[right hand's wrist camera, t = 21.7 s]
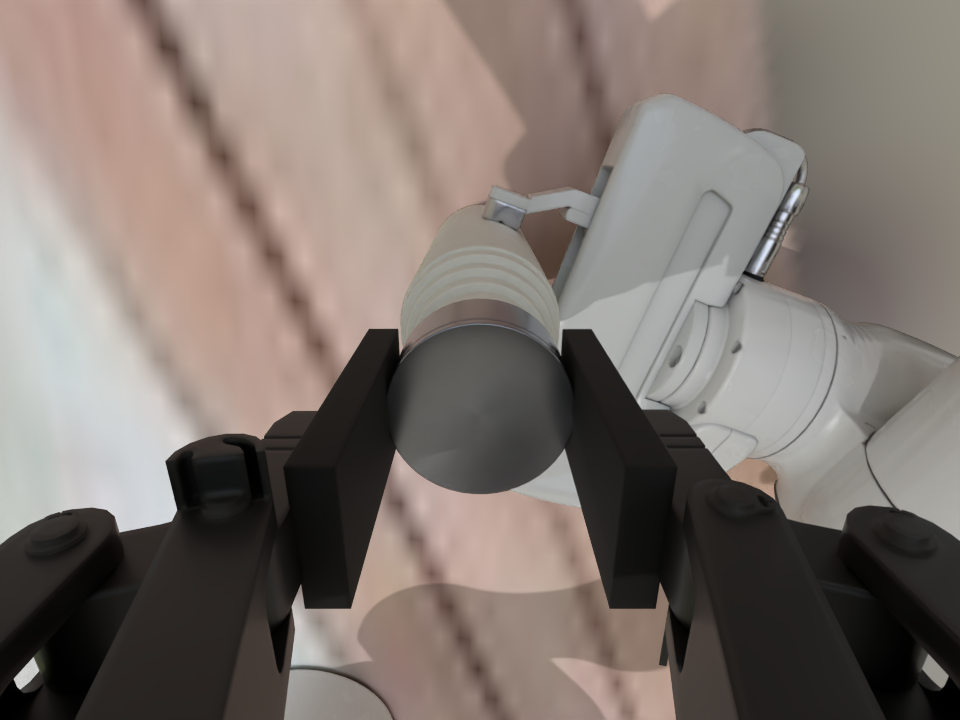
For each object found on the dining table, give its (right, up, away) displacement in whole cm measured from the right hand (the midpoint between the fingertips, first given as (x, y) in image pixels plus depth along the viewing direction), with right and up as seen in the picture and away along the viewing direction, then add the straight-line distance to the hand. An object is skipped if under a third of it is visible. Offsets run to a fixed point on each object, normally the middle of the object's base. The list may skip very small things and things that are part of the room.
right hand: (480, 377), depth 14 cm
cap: (0, -1, -2) cm, 2 cm away
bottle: (0, +7, +18) cm, 19 cm away
